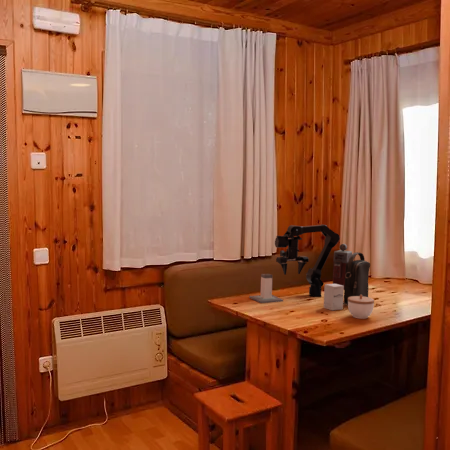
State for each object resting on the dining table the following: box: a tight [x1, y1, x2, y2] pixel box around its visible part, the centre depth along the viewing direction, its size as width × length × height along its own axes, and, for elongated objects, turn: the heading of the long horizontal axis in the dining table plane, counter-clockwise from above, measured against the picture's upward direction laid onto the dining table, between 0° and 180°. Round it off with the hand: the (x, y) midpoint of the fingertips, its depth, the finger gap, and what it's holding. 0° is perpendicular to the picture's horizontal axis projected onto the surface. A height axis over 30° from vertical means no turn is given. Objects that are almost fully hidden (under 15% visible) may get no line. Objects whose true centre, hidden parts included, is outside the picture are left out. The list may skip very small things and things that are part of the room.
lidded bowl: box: [347, 295, 375, 320], centre depth 258 cm, size 13×13×11 cm
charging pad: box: [248, 294, 284, 304], centre depth 293 cm, size 14×14×1 cm
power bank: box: [260, 273, 273, 299], centre depth 292 cm, size 5×5×13 cm
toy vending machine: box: [332, 243, 353, 288], centre depth 329 cm, size 9×11×28 cm
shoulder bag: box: [343, 252, 371, 306], centre depth 290 cm, size 23×9×28 cm, turn 142°
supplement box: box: [323, 283, 344, 311], centre depth 275 cm, size 7×7×13 cm
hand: (292, 274), depth 301 cm, fingers open, 9 cm apart
